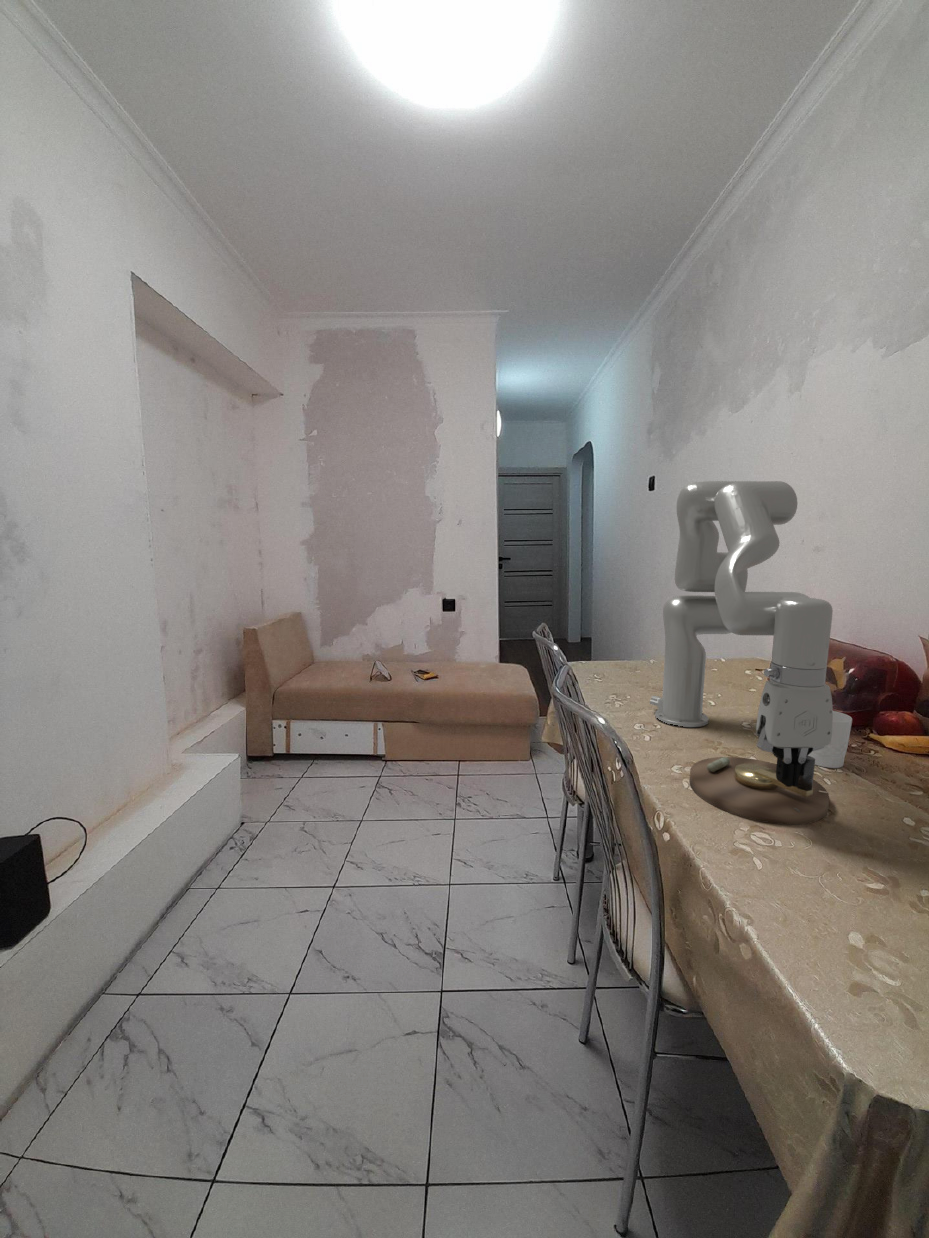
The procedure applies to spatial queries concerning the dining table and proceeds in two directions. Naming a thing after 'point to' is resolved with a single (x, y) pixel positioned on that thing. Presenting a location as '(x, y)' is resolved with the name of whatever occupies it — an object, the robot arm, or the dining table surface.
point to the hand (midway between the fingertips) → (786, 782)
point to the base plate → (754, 794)
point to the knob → (767, 777)
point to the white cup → (835, 743)
